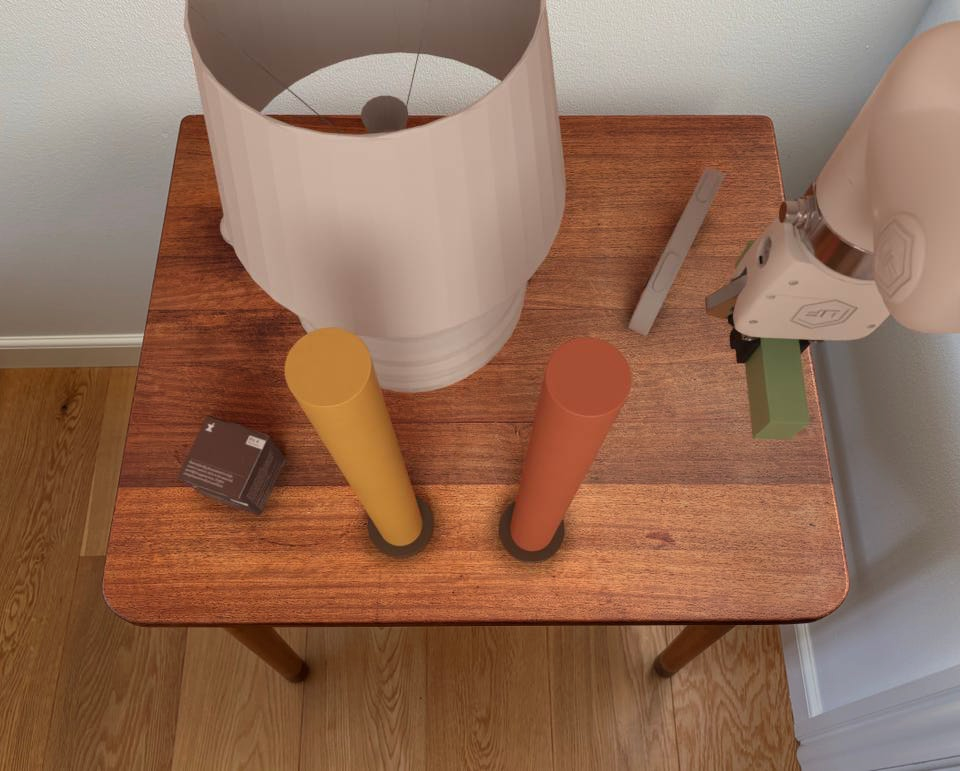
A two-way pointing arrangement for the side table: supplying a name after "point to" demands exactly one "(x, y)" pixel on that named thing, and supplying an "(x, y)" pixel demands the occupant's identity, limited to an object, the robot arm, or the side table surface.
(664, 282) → the grey flat slab
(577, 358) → the terracotta rod
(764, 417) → the green bar
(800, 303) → the robot arm
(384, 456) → the ochre rod
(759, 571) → the side table surface
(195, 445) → the box
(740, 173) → the side table surface
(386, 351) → the table lamp
